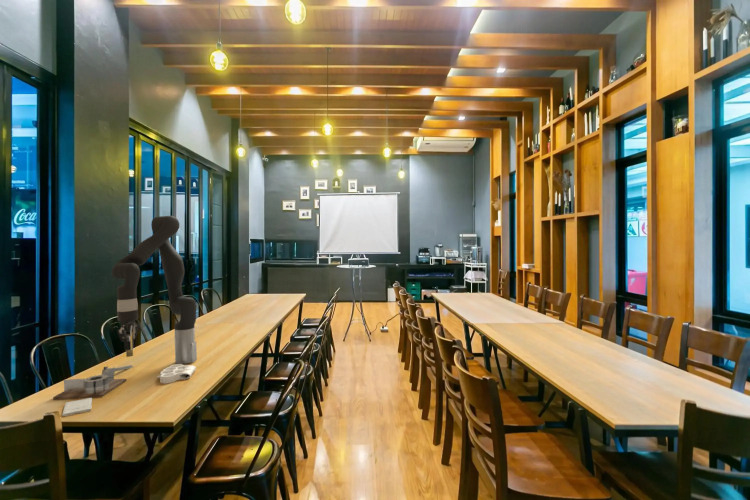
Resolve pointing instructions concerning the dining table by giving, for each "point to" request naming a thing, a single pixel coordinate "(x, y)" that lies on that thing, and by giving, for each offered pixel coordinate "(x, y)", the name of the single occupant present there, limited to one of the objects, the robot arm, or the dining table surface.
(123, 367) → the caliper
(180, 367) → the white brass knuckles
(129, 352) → the hinge pin
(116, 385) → the hinge board
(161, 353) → the dining table surface
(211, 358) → the dining table surface
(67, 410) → the external hard drive
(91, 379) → the hinge
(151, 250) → the robot arm
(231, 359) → the dining table surface
